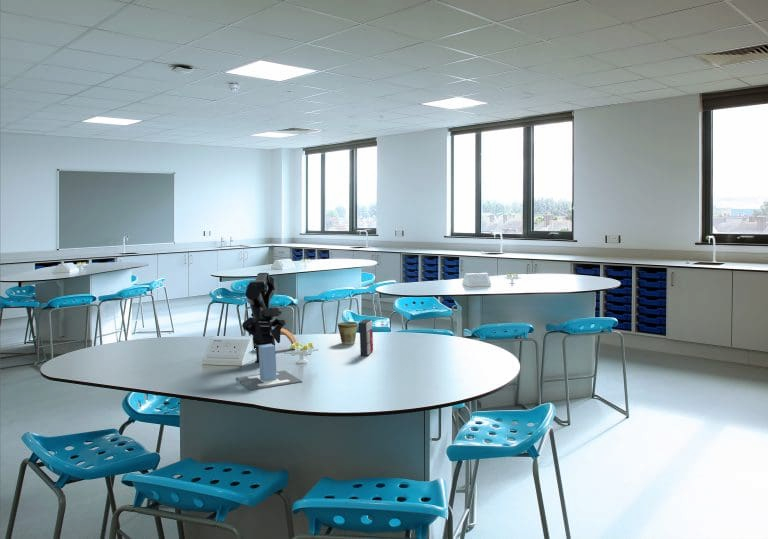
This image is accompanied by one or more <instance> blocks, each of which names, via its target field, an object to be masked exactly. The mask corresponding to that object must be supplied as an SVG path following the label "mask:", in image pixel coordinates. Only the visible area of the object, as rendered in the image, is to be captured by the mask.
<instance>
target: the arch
mask: <svg viewBox="0 0 768 539" xmlns="http://www.w3.org/2000/svg"><path fill="white" fill-rule="evenodd" d="M280 334H282V335H284V336H285V337H287V339H288V340H289V341H290V343H291V345H292V344H293V343H295V342H297V339H296V337H295V336H294V334H292V333H291V332H290V331H289V330H287V329H286V328H284V327H282V328H281V332H280ZM297 343H298V342H297Z"/></svg>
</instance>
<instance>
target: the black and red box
mask: <svg viewBox="0 0 768 539" xmlns="http://www.w3.org/2000/svg"><path fill="white" fill-rule="evenodd" d="M357 323H358V326H357V331H358V333H359V346H360V347H359V348H360V349H359V351H360V356H361V357H367V355H370V354H371V353H372V352H373V351H374V340H373V339H374V337H373V336H374V335H373V333H374V332H373V331H374V330H373V321H372V319H371V318H370V319H368V318H366V319H365V318H364V319H362V320H361V321H359V322H357Z"/></svg>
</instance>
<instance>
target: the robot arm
mask: <svg viewBox="0 0 768 539" xmlns="http://www.w3.org/2000/svg"><path fill="white" fill-rule="evenodd" d="M275 291H276V281H275V278H274V277H272V276H270V273H268V272H258V273H257V276H256V278H255V280H251V281H249V283H248V284H247V287H246V290H245V297H246V299H247V302H248V303H249V307H250V310H251V312H252V313H251V314H250V316H251V317H250V316H249V317H248V318H246V319H245V321H243V322H242V324H241V326H242V329H243V331H246V332H247V333H249V334H250V335H251V336H252V344H253V350H254V349H255V348H256V350H255V352H256V360H255V361H254V363H259V345H266V344H272V345H274V346H275V347H276V343H278V344H280V343H281V333H280V332H281V328H284V326H286V321H285V319H283V318H274V317H279V316H280V315H282V308H281V307H280V306H275V307H270V306H271V299H272V298H273V297H274V295H275ZM273 319H274V320H273Z"/></svg>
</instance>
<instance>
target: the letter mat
mask: <svg viewBox="0 0 768 539" xmlns="http://www.w3.org/2000/svg"><path fill="white" fill-rule="evenodd" d="M276 375H277V379H276V380H270V381H263V380H261V379H260V373H259V374H258V373H257V374H251V375H245V376H244V375H243V376H237V377H236V378H237V379H238V380H239V381H240V382H239V381H238V380H237V379H236V380H237V381H238V382H239V383H241V384H242V383H243V384H244V385H245V386H246V389H248V390H249V389H250V391H255V389H256V390H261V389H262V390H263V389H267V388H274V387H280V386H285V385H293V384H299V383H302V382H303V380H302V379H299V377H296V376H294V375H293V374H292V373H290V372H288V371H286V370H279V371H277V370H276ZM243 384H242V385H243ZM244 385H243V386H244ZM245 386H244V387H245Z"/></svg>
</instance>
